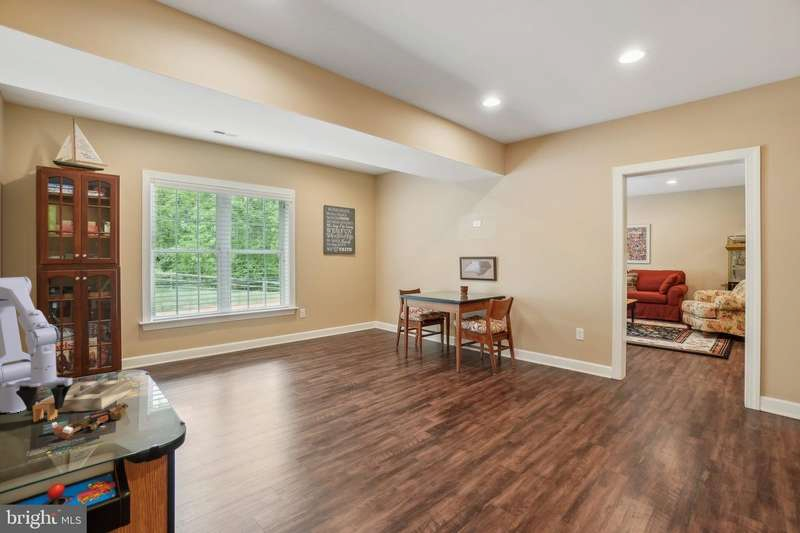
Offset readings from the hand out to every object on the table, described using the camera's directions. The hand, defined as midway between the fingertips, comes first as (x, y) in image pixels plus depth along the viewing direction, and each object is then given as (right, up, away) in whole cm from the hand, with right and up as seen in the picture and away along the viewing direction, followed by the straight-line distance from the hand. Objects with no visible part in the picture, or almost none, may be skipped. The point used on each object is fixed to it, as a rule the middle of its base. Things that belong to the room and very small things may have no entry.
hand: (45, 409), depth 116 cm
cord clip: (0, -3, 0) cm, 3 cm away
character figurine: (+18, -4, -4) cm, 19 cm away
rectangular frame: (+2, -3, +15) cm, 15 cm away
